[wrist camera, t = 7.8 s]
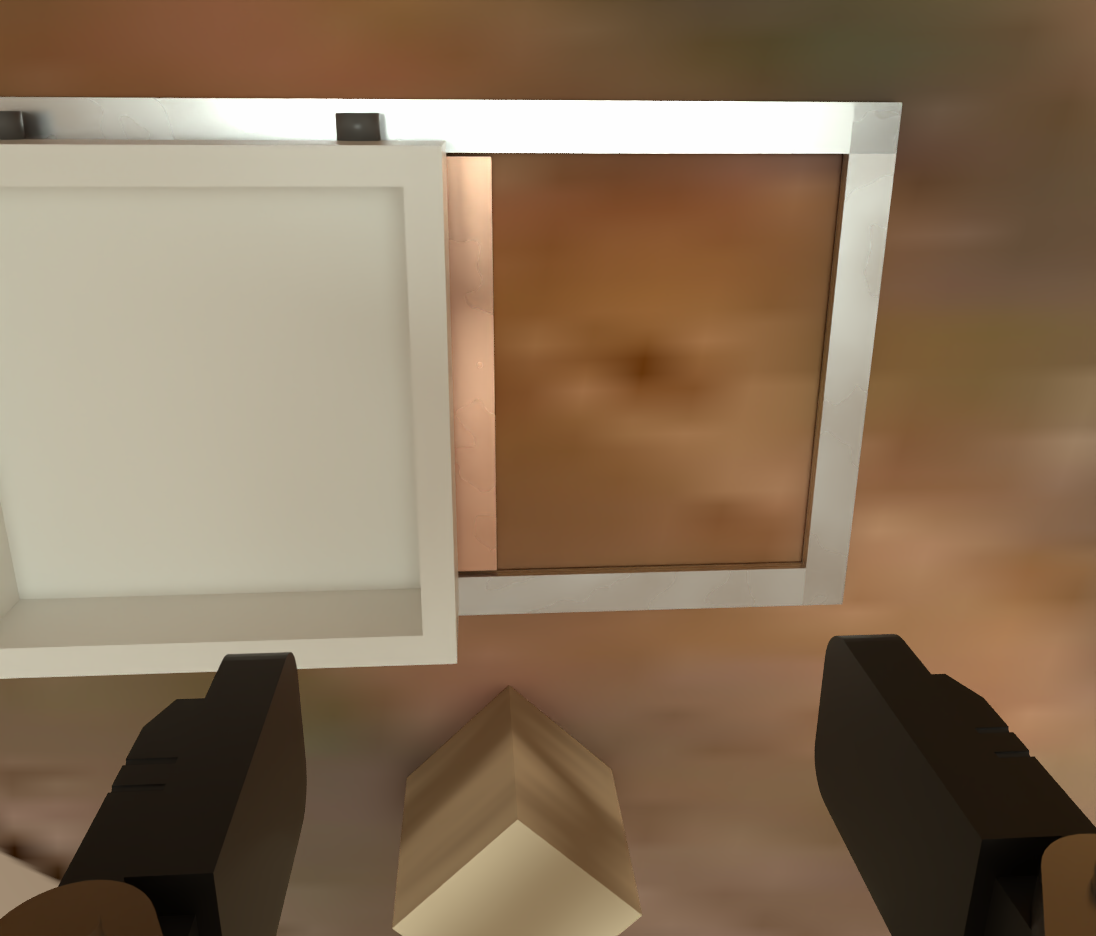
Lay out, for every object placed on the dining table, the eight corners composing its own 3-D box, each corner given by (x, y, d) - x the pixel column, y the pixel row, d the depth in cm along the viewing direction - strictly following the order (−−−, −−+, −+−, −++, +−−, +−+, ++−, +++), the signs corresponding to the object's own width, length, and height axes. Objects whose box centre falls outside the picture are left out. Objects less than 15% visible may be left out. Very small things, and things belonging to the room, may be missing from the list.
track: (896, 102, 25) (902, 102, 24) (837, 597, 29) (842, 604, 29) (-162, 96, 23) (-173, 95, 23) (-44, 623, 28) (-51, 630, 27)
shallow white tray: (445, 113, 23) (440, 113, 20) (459, 612, 28) (457, 684, 24) (-86, 110, 22) (-189, 111, 19) (18, 624, 27) (-51, 702, 23)
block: (406, 777, 31) (392, 928, 25) (509, 684, 30) (517, 819, 24) (510, 855, 32) (518, 1015, 26) (611, 768, 31) (642, 915, 25)
